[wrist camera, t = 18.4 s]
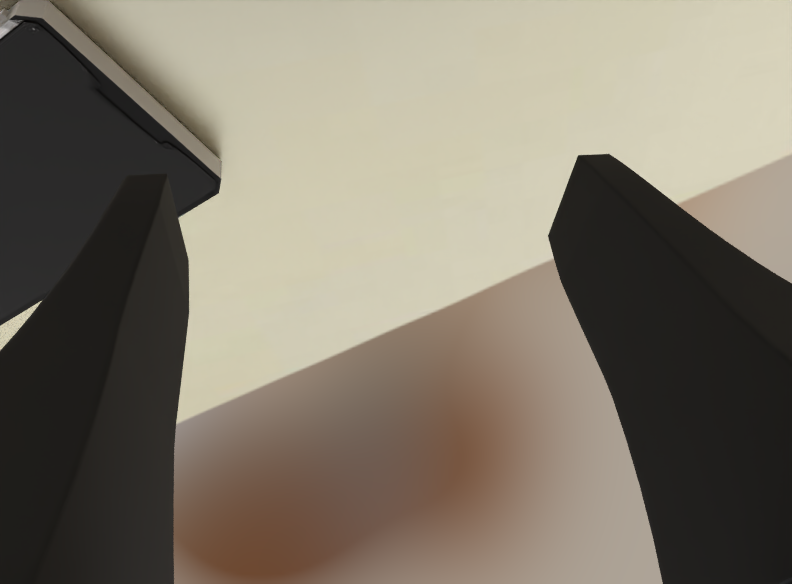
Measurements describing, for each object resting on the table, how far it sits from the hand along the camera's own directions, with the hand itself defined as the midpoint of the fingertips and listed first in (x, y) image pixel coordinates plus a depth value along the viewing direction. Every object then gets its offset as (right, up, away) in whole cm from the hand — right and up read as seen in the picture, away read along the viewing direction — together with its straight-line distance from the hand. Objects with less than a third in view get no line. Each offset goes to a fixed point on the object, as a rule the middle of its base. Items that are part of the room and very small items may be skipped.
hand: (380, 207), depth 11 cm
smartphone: (-14, +2, +11) cm, 18 cm away
